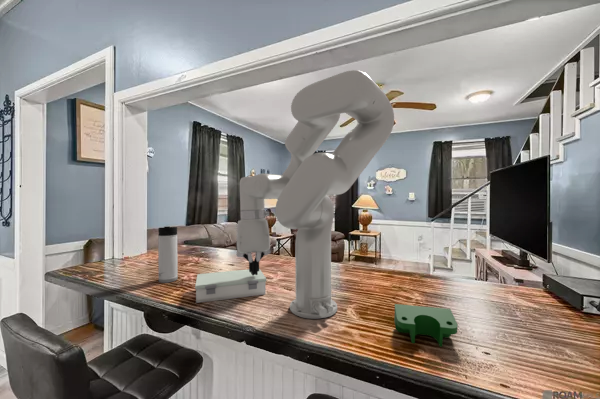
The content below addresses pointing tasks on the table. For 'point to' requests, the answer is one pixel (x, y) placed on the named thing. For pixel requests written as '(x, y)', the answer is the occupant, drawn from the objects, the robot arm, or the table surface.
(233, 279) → the cover
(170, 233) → the travel mug
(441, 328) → the clamp
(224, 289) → the white latched case
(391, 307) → the table surface
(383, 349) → the table surface
